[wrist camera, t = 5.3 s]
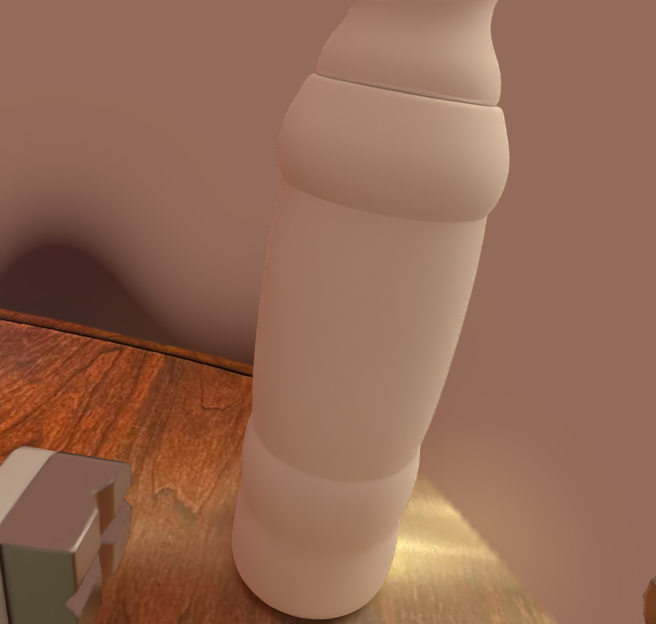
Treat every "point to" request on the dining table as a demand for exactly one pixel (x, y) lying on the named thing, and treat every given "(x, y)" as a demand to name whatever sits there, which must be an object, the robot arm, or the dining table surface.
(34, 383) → the dining table surface
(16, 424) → the dining table surface
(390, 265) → the water bottle
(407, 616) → the dining table surface
